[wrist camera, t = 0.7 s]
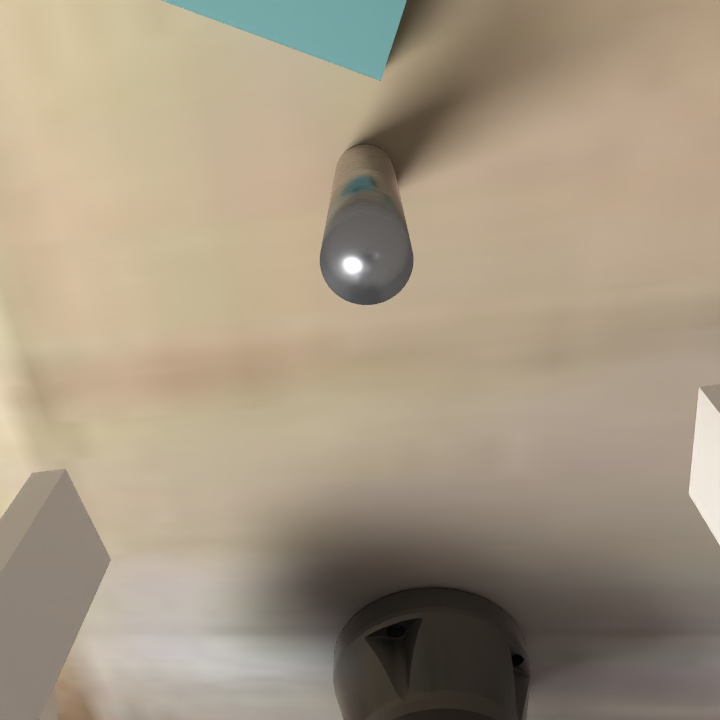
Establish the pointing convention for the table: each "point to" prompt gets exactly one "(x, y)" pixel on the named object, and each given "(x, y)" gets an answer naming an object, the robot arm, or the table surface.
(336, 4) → the drilled block
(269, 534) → the table surface
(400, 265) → the long pin
